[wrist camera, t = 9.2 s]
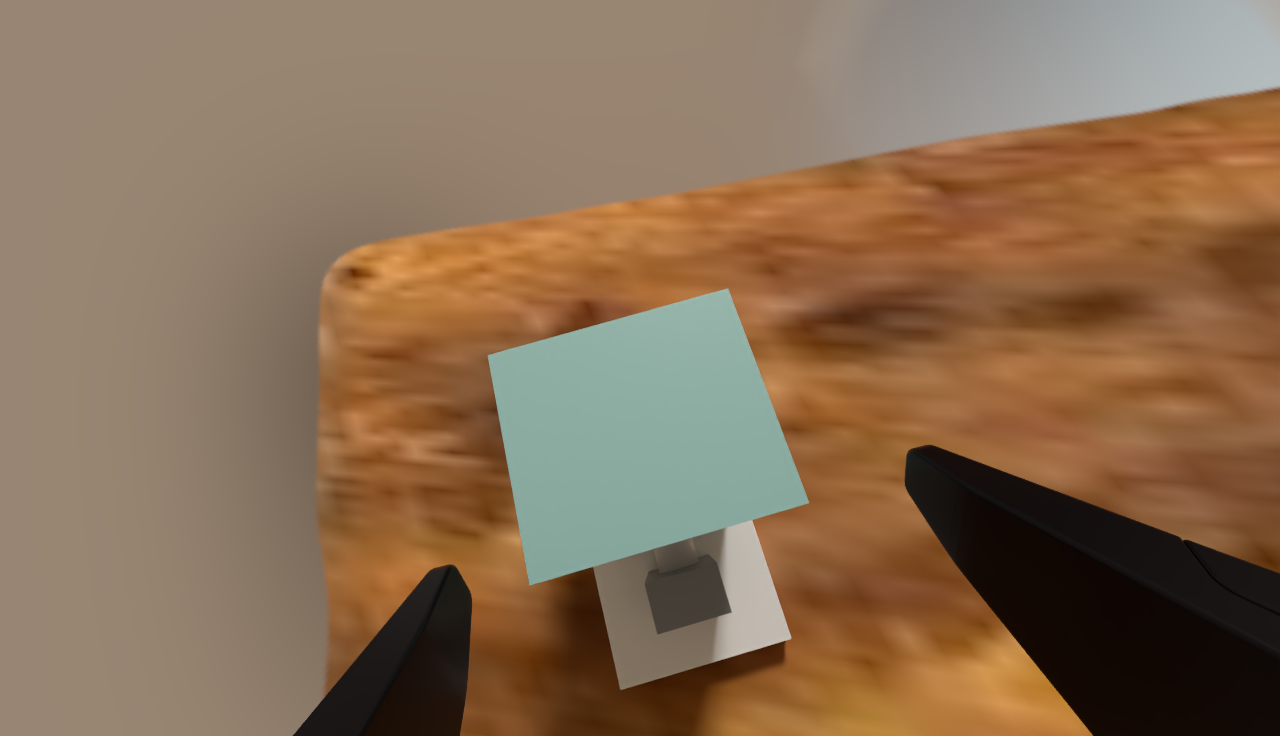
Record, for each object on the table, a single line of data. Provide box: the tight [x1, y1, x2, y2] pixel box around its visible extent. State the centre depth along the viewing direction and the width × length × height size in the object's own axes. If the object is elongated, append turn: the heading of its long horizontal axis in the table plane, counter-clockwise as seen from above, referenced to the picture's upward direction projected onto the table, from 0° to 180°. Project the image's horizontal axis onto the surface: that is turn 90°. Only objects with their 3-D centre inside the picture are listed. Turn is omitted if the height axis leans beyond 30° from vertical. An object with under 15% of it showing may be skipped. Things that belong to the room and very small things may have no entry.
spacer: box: [488, 289, 809, 585], centre depth 15 cm, size 4×5×12 cm
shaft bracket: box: [593, 520, 792, 690], centre depth 19 cm, size 15×7×4 cm, turn 15°
